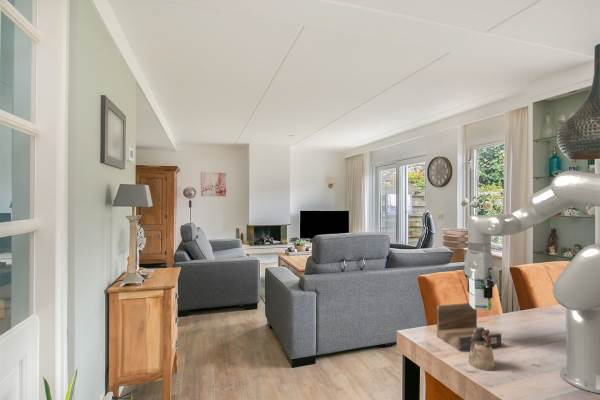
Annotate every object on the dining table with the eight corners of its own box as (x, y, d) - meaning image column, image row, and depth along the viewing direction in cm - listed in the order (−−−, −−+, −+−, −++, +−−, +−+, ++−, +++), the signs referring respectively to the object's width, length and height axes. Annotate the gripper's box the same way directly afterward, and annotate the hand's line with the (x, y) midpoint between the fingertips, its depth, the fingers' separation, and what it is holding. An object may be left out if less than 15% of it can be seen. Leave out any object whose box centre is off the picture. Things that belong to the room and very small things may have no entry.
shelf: (502, 347, 114) (501, 313, 114) (460, 351, 110) (460, 317, 111) (474, 332, 127) (474, 302, 127) (436, 336, 123) (436, 305, 124)
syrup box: (474, 309, 116) (473, 270, 116) (468, 304, 122) (468, 267, 122) (491, 310, 115) (490, 270, 115) (485, 305, 121) (484, 267, 121)
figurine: (480, 358, 106) (480, 322, 106) (499, 368, 99) (499, 329, 99) (463, 361, 104) (463, 324, 104) (482, 372, 97) (482, 332, 97)
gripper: (454, 245, 126) (454, 289, 126) (489, 251, 109) (489, 302, 109) (470, 244, 128) (471, 288, 128) (507, 250, 111) (507, 301, 111)
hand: (479, 294), depth 118 cm, fingers closed on syrup box, 7 cm apart
